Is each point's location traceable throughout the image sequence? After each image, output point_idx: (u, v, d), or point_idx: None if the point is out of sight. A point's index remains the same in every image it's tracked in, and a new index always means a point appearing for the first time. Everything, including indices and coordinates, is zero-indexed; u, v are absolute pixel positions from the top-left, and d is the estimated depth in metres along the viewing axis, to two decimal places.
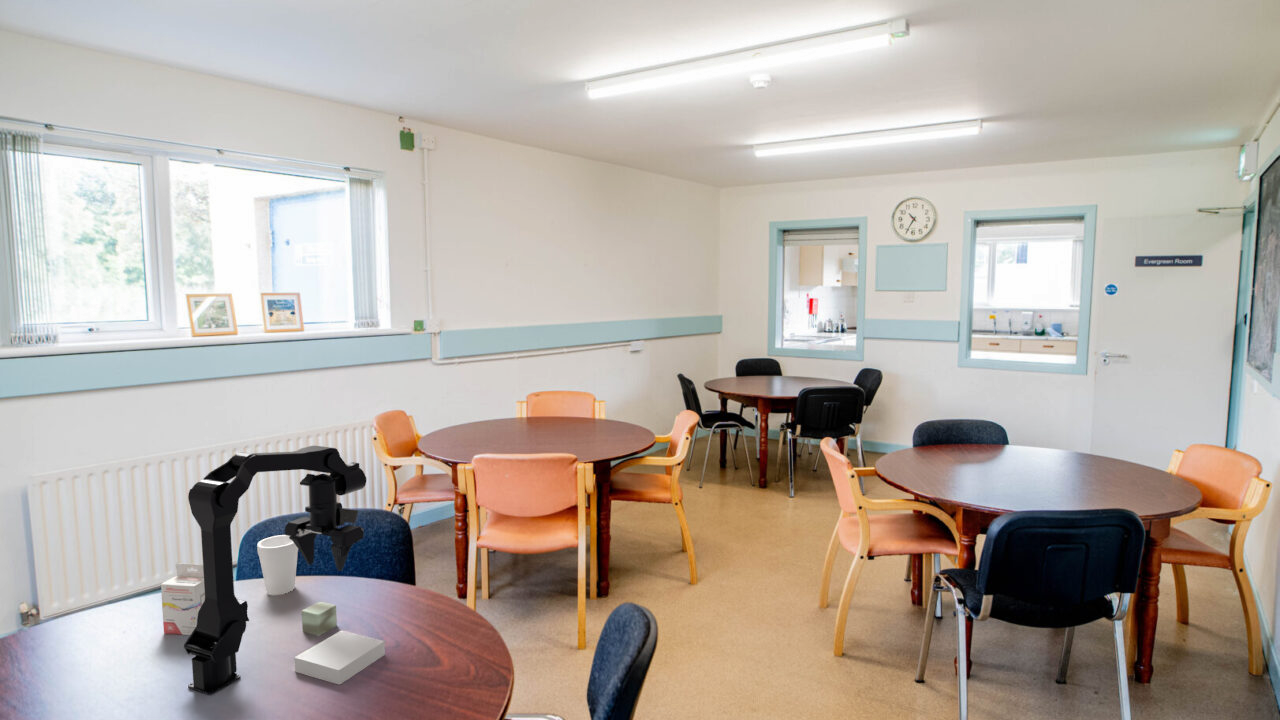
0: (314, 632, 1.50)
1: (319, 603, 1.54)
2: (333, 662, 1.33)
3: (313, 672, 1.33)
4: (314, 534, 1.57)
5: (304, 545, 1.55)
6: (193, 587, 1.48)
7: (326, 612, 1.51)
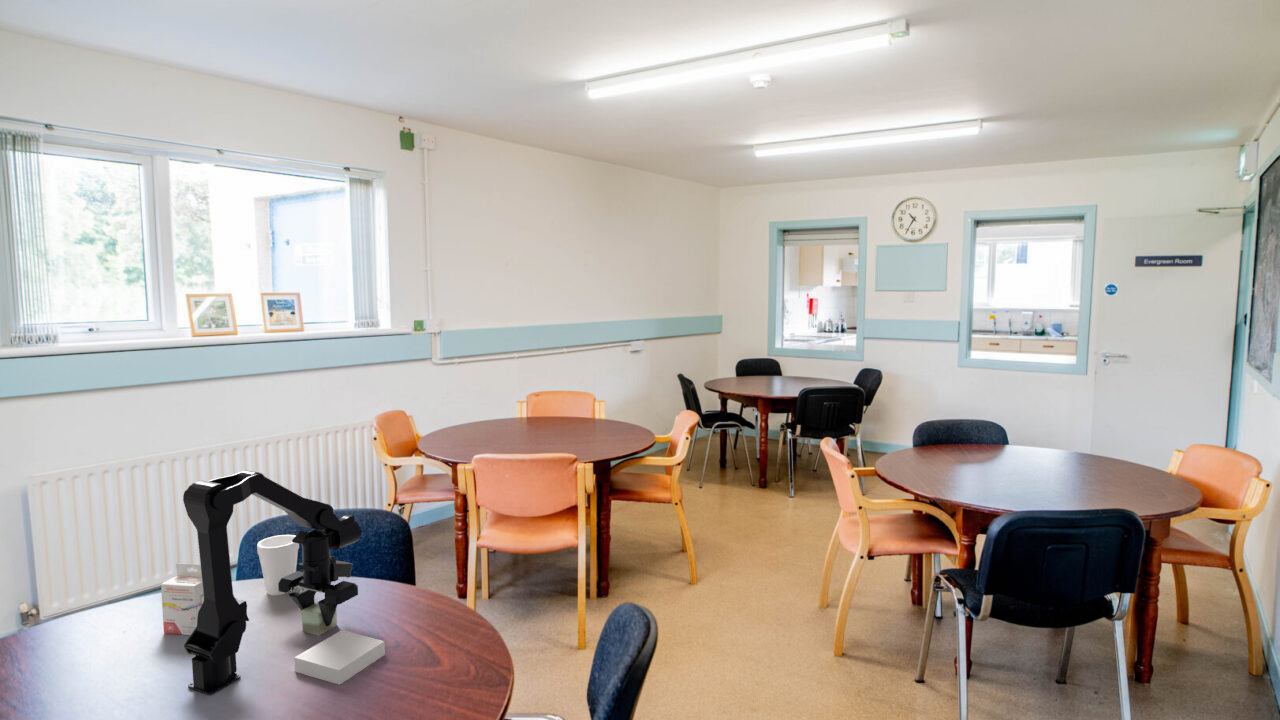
0: (314, 631, 1.50)
1: None
2: (333, 662, 1.33)
3: (313, 672, 1.33)
4: (314, 590, 1.55)
5: (304, 602, 1.52)
6: (193, 587, 1.48)
7: None
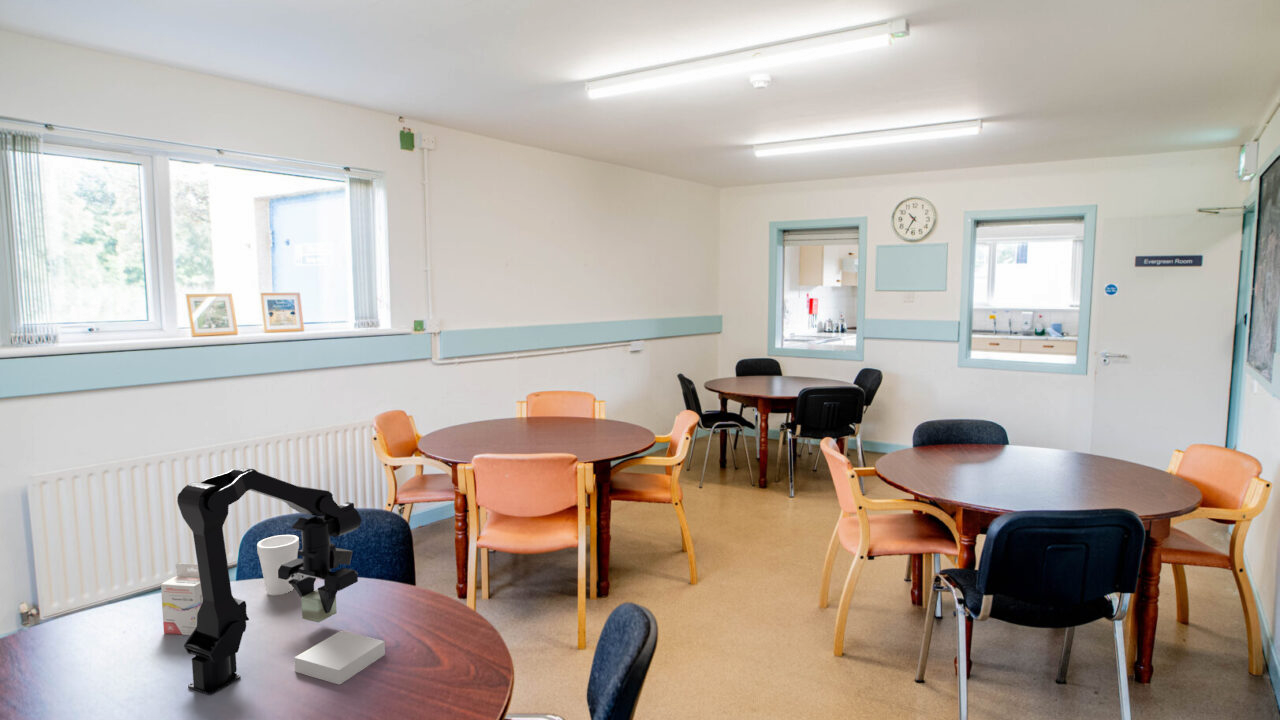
0: (314, 618, 1.50)
1: None
2: (333, 662, 1.33)
3: (313, 672, 1.33)
4: (314, 577, 1.55)
5: (304, 589, 1.52)
6: (193, 587, 1.48)
7: None
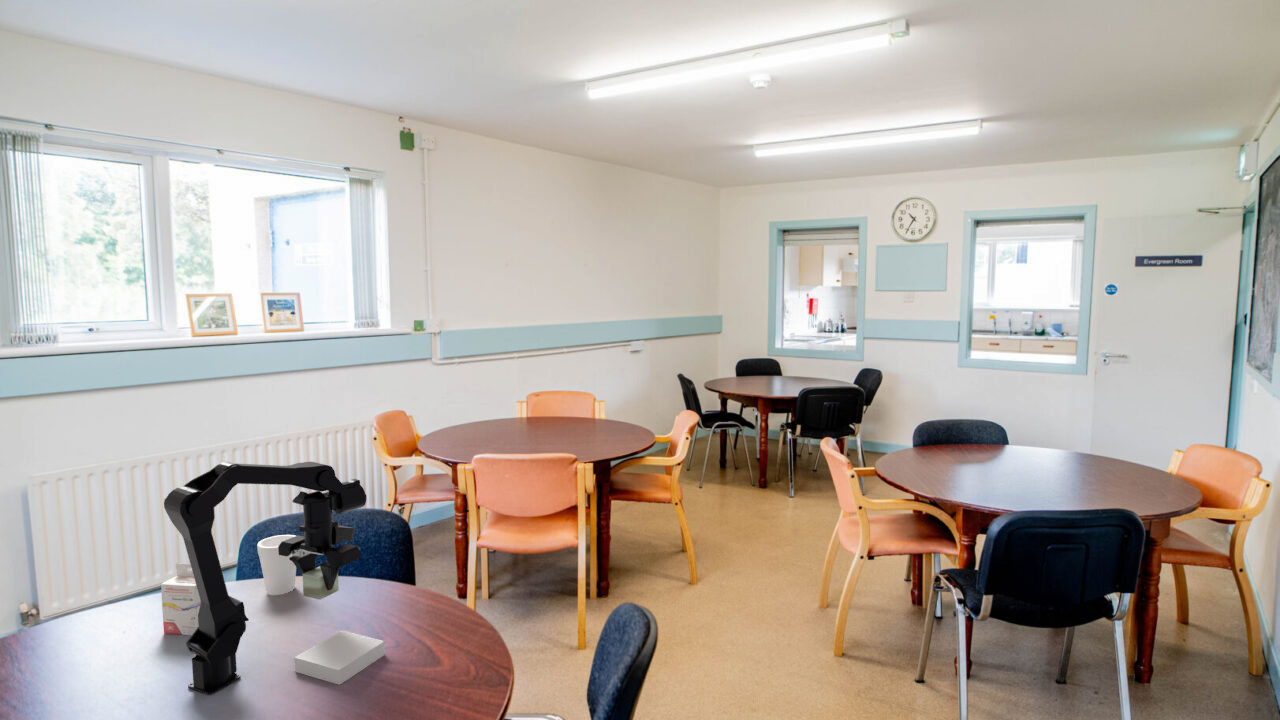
0: (315, 595, 1.46)
1: None
2: (333, 662, 1.33)
3: (313, 672, 1.33)
4: (315, 554, 1.51)
5: (305, 566, 1.48)
6: (193, 587, 1.48)
7: None
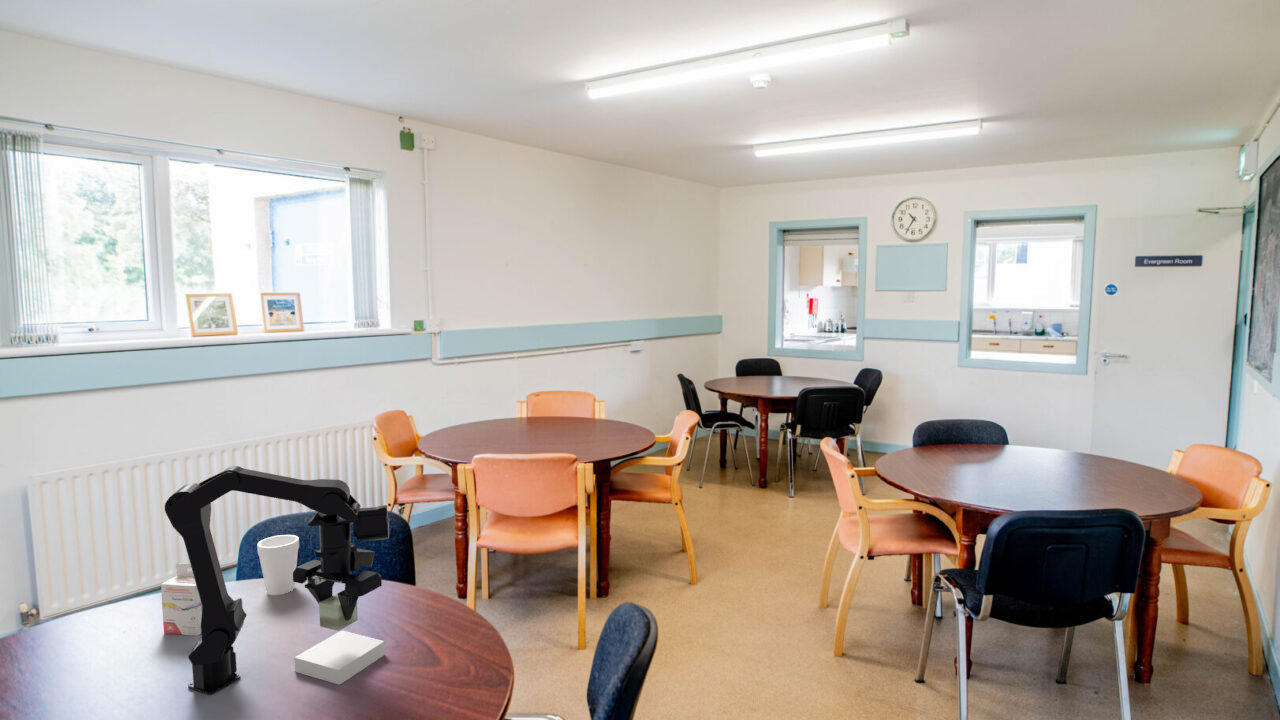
0: (333, 626, 1.35)
1: None
2: (333, 662, 1.33)
3: (313, 672, 1.33)
4: (332, 581, 1.40)
5: (321, 594, 1.37)
6: (193, 587, 1.48)
7: None
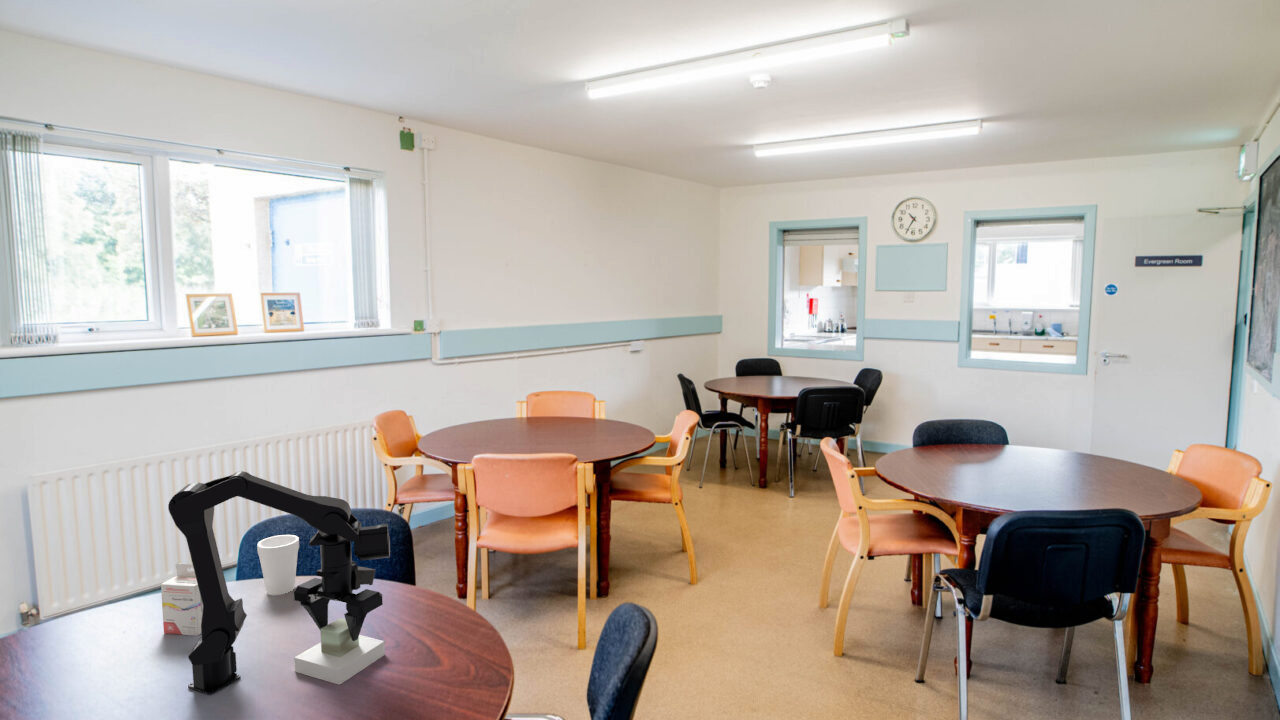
0: (334, 653, 1.35)
1: (339, 620, 1.40)
2: (333, 662, 1.33)
3: (313, 672, 1.33)
4: (328, 598, 1.41)
5: (317, 611, 1.38)
6: (193, 587, 1.48)
7: (348, 631, 1.37)
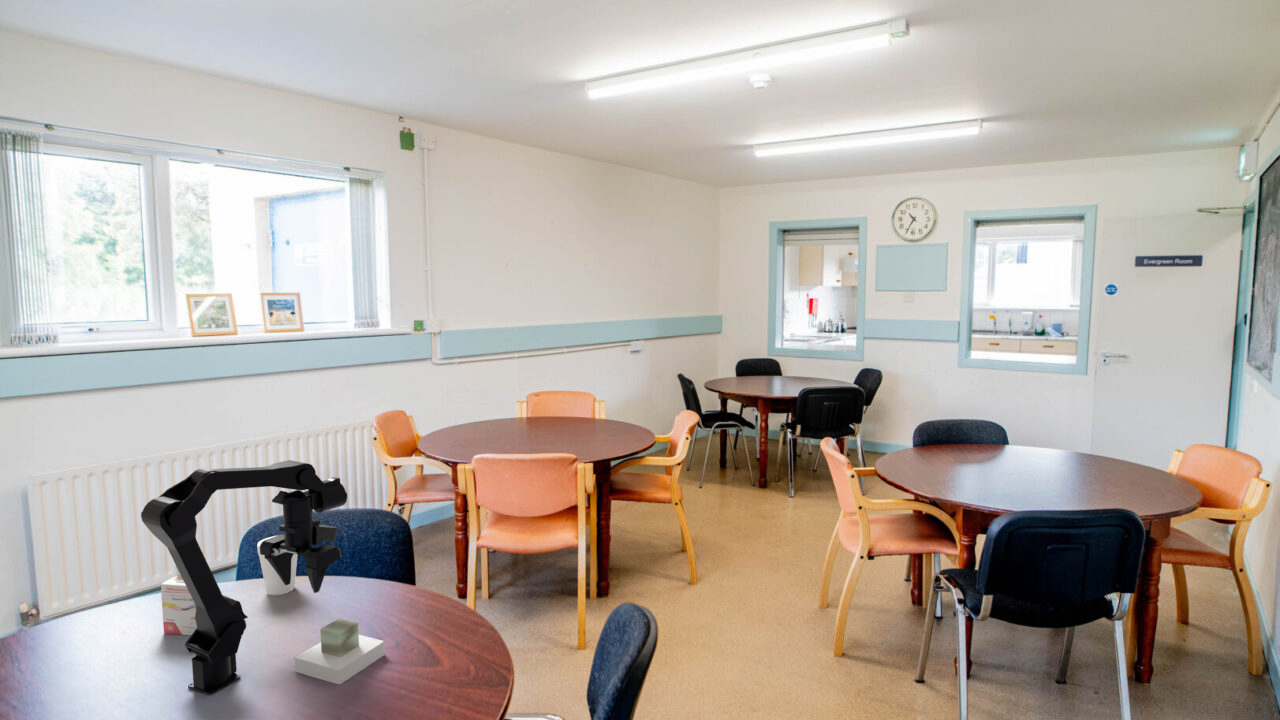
0: (334, 653, 1.35)
1: (339, 620, 1.40)
2: (333, 662, 1.33)
3: (313, 672, 1.33)
4: (291, 553, 1.50)
5: (280, 564, 1.47)
6: None
7: (348, 631, 1.37)
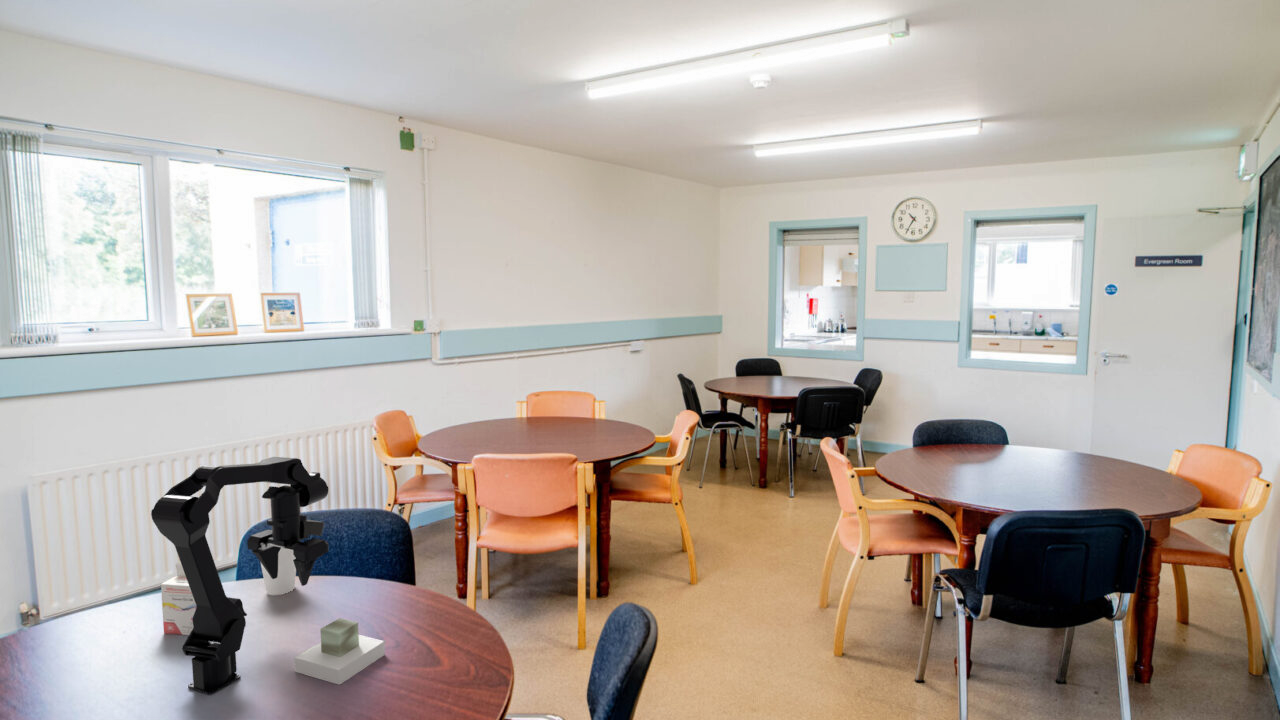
0: (334, 653, 1.35)
1: (339, 620, 1.40)
2: (333, 662, 1.33)
3: (313, 672, 1.33)
4: (278, 547, 1.52)
5: (267, 559, 1.50)
6: None
7: (348, 631, 1.37)
